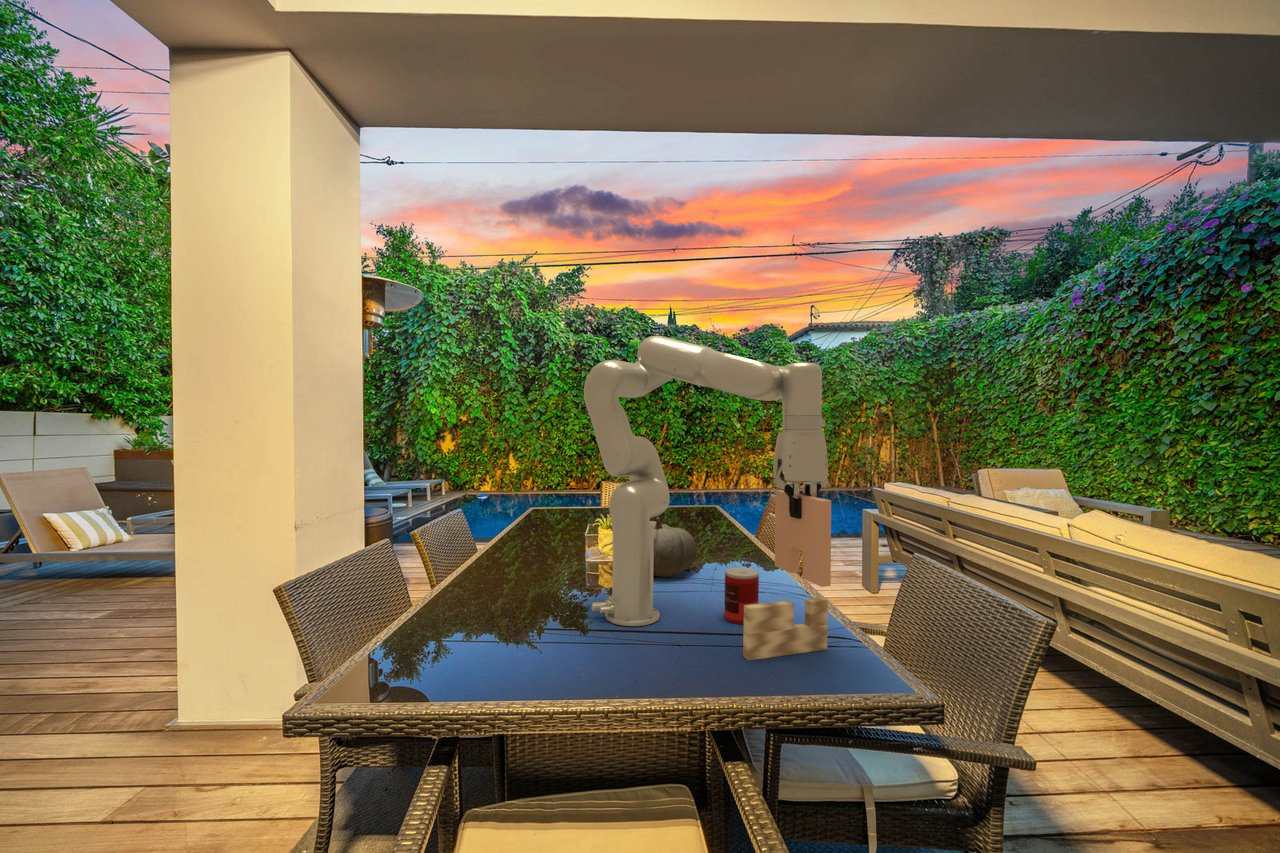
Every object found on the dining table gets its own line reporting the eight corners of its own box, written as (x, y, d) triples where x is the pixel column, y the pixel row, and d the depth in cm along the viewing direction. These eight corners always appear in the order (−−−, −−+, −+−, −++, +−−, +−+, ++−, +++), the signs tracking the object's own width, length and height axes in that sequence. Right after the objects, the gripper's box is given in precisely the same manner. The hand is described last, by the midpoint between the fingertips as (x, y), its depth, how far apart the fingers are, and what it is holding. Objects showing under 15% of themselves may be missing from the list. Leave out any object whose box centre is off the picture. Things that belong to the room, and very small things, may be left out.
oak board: (748, 660, 110) (749, 608, 110) (743, 656, 112) (743, 605, 111) (827, 649, 116) (827, 600, 115) (821, 645, 117) (821, 597, 117)
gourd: (602, 571, 162) (611, 510, 164) (619, 564, 186) (627, 511, 188) (689, 586, 157) (698, 523, 159) (695, 577, 181) (702, 523, 184)
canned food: (761, 615, 135) (762, 569, 135) (753, 626, 128) (754, 577, 127) (729, 610, 138) (730, 565, 138) (720, 621, 131) (720, 573, 131)
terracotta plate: (821, 586, 106) (822, 501, 106) (774, 565, 122) (775, 490, 121) (830, 585, 107) (831, 500, 107) (782, 565, 122) (783, 490, 122)
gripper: (823, 425, 120) (822, 512, 120) (757, 425, 115) (756, 516, 115) (847, 425, 113) (846, 518, 113) (777, 425, 108) (777, 522, 108)
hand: (801, 516), depth 114 cm, fingers closed on terracotta plate, 2 cm apart
